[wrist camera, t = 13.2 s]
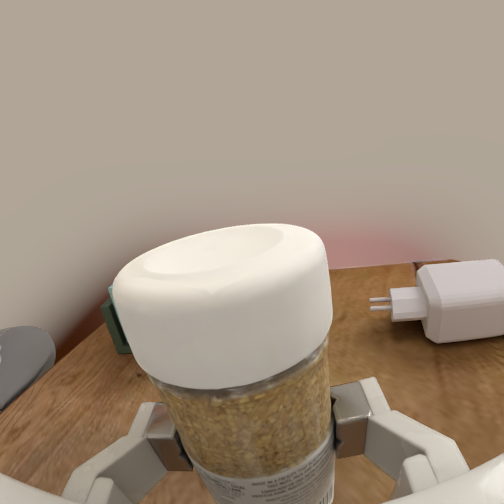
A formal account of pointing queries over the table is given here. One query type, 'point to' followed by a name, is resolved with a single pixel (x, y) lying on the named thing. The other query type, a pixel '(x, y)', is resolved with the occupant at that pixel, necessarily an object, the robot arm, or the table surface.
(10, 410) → the table surface
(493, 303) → the charger
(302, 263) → the sprinkles bottle
